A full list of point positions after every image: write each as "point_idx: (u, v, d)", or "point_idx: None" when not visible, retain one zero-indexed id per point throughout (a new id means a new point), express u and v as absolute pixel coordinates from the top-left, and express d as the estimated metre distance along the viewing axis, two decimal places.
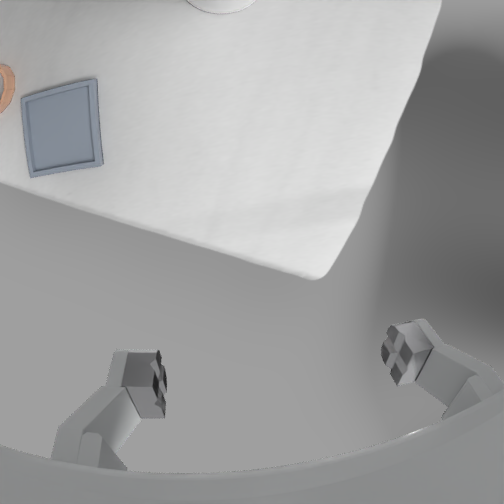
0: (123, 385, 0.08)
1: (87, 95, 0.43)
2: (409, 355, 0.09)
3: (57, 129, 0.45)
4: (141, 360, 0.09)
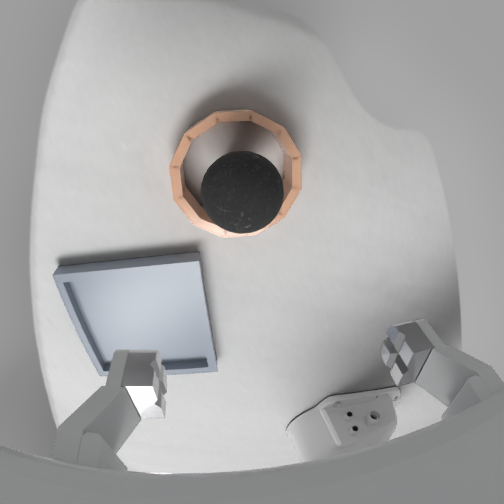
0: (123, 385, 0.08)
1: (193, 357, 0.37)
2: (409, 355, 0.09)
3: (139, 319, 0.33)
4: (141, 360, 0.09)
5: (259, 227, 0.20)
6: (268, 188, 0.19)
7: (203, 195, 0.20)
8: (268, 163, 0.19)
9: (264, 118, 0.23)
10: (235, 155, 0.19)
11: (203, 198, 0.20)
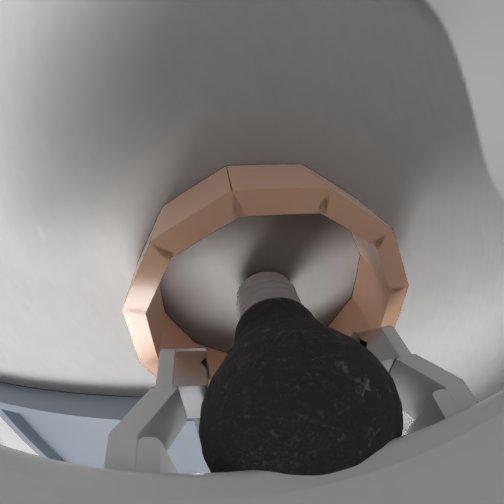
0: (175, 385, 0.08)
1: None
2: None
3: None
4: (190, 359, 0.09)
5: None
6: None
7: (208, 464, 0.06)
8: (390, 395, 0.06)
9: (355, 208, 0.09)
10: (306, 392, 0.06)
11: (208, 467, 0.06)
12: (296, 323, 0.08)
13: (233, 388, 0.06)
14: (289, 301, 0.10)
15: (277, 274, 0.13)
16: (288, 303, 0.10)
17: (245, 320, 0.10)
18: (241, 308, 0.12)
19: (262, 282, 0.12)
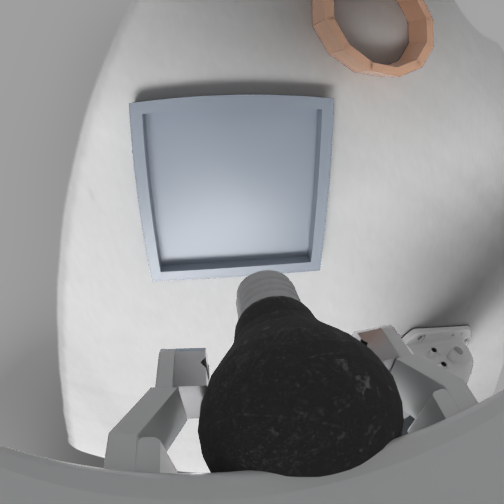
0: (175, 385, 0.08)
1: (290, 249, 0.30)
2: None
3: (235, 182, 0.26)
4: (190, 359, 0.09)
5: None
6: None
7: (208, 462, 0.06)
8: (390, 393, 0.06)
9: None
10: (306, 390, 0.06)
11: (208, 465, 0.06)
12: (295, 320, 0.08)
13: (232, 386, 0.06)
14: (289, 299, 0.10)
15: (277, 273, 0.13)
16: (288, 301, 0.10)
17: (245, 318, 0.10)
18: (241, 307, 0.12)
19: (262, 281, 0.12)
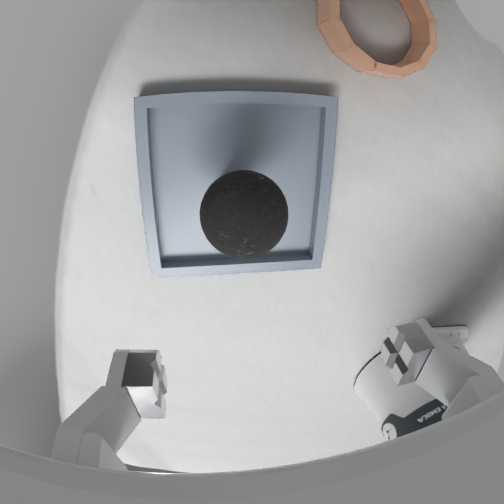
0: (123, 385, 0.08)
1: (292, 247, 0.30)
2: (409, 355, 0.09)
3: None
4: (141, 360, 0.09)
5: (261, 253, 0.19)
6: (274, 213, 0.18)
7: (203, 217, 0.18)
8: (274, 185, 0.18)
9: None
10: (239, 175, 0.18)
11: (203, 220, 0.18)
12: None
13: (214, 182, 0.19)
14: None
15: None
16: None
17: None
18: None
19: None
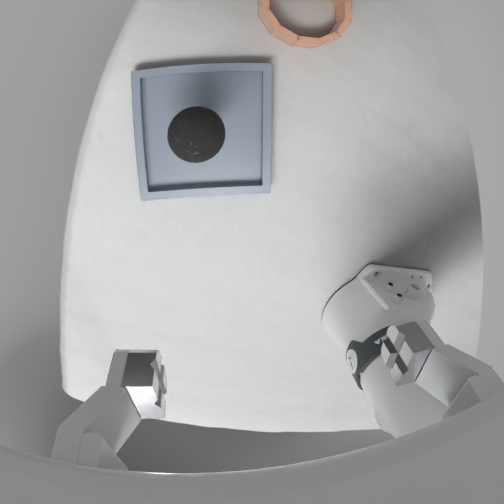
0: (123, 385, 0.08)
1: (247, 177, 0.38)
2: (409, 355, 0.09)
3: None
4: (141, 360, 0.09)
5: (205, 155, 0.27)
6: (210, 126, 0.26)
7: (168, 134, 0.27)
8: (213, 112, 0.27)
9: None
10: (190, 107, 0.26)
11: (168, 136, 0.27)
12: None
13: None
14: None
15: None
16: None
17: None
18: None
19: None
